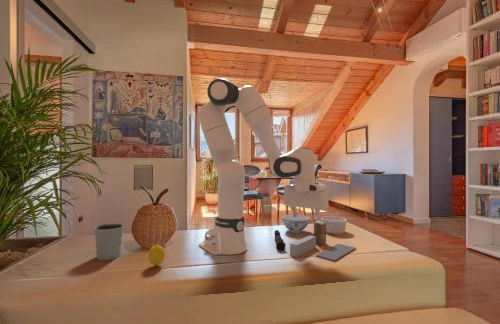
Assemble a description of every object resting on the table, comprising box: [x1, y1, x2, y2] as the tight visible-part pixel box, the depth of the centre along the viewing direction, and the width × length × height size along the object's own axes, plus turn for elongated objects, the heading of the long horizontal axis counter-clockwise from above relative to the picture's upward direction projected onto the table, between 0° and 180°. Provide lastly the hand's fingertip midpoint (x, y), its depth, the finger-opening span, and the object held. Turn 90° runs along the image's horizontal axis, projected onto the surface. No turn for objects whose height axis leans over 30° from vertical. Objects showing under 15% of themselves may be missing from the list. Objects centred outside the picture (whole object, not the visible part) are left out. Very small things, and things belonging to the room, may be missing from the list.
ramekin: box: [320, 215, 348, 235], centre depth 147 cm, size 13×13×7 cm
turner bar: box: [289, 235, 317, 258], centre depth 116 cm, size 3×16×5 cm, turn 139°
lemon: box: [148, 243, 166, 267], centre depth 100 cm, size 6×6×8 cm
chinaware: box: [281, 213, 311, 234], centre depth 147 cm, size 15×15×8 cm
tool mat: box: [315, 243, 357, 262], centre depth 115 cm, size 8×20×1 cm, turn 137°
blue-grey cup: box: [94, 223, 124, 261], centre depth 109 cm, size 10×10×12 cm
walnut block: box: [313, 220, 327, 246], centre depth 126 cm, size 4×4×10 cm
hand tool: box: [274, 229, 287, 252], centre depth 126 cm, size 19×4×5 cm, turn 178°
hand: (304, 217), depth 116 cm, fingers open, 8 cm apart
